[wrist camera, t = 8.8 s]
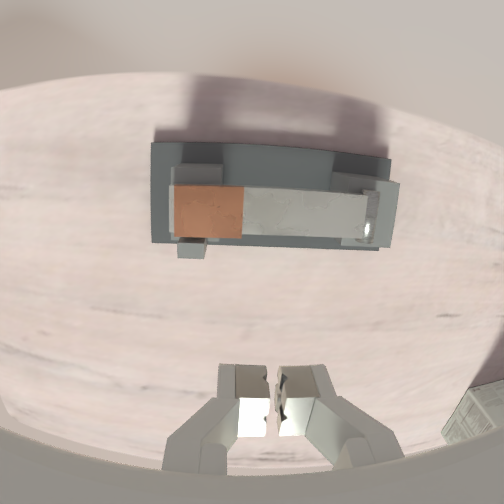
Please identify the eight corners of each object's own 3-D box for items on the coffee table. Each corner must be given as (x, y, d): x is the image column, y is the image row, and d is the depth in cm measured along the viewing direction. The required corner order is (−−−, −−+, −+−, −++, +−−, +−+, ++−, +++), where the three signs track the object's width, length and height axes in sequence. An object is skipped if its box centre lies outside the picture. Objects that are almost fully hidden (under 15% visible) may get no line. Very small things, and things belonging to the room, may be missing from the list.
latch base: (387, 158, 31) (434, 167, 22) (375, 247, 34) (413, 280, 26) (153, 142, 29) (124, 143, 21) (154, 239, 32) (128, 274, 24)
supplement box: (438, 433, 49) (472, 493, 33) (467, 387, 45) (513, 449, 28) (479, 421, 50) (513, 471, 34) (506, 377, 46) (550, 428, 30)
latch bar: (375, 189, 26) (387, 194, 24) (368, 238, 27) (379, 246, 25) (172, 178, 24) (167, 181, 22) (172, 232, 25) (167, 240, 23)
